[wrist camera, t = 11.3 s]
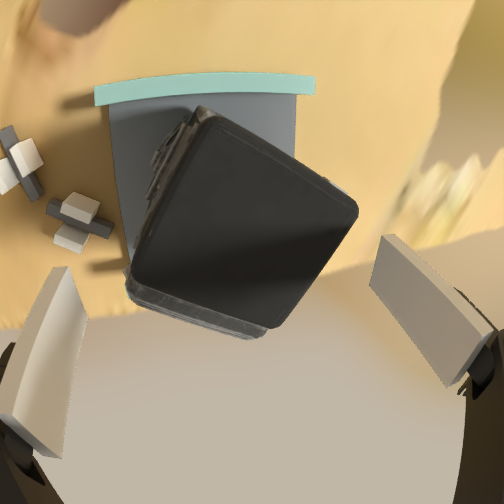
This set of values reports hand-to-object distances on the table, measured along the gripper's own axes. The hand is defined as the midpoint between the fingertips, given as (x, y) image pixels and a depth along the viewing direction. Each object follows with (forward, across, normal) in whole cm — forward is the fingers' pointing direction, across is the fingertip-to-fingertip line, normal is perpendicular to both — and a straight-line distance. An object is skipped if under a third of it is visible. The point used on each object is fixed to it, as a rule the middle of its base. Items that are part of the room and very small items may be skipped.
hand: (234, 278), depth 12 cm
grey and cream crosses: (+17, -15, +1) cm, 22 cm away
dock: (+17, 0, -1) cm, 17 cm away
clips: (+17, -15, -1) cm, 23 cm away
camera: (+16, 0, -1) cm, 16 cm away
